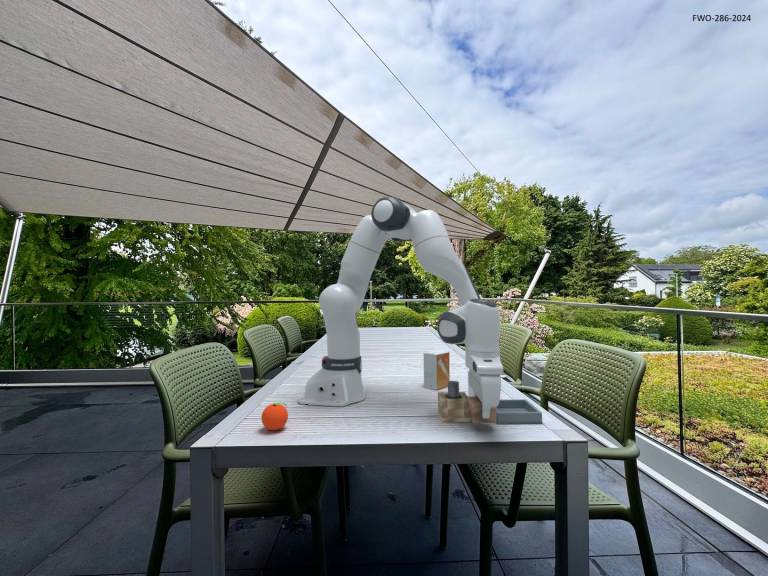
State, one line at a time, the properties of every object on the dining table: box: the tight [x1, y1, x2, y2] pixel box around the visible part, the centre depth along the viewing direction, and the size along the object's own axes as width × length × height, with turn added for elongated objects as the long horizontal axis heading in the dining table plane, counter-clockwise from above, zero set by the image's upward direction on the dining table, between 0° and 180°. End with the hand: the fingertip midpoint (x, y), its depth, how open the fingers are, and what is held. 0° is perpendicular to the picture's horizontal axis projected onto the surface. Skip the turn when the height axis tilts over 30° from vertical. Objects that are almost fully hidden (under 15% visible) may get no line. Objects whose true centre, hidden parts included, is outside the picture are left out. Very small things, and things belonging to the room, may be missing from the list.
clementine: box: [261, 402, 289, 431], centre depth 102 cm, size 8×7×7 cm
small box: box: [423, 349, 451, 391], centre depth 141 cm, size 8×6×13 cm
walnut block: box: [468, 396, 497, 424], centre depth 100 cm, size 6×6×5 cm
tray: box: [495, 398, 543, 425], centre depth 108 cm, size 12×12×3 cm
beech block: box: [437, 391, 471, 423], centre depth 109 cm, size 8×8×6 cm
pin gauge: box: [447, 380, 460, 399], centre depth 109 cm, size 3×3×9 cm
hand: (482, 412), depth 100 cm, fingers closed on walnut block, 6 cm apart
